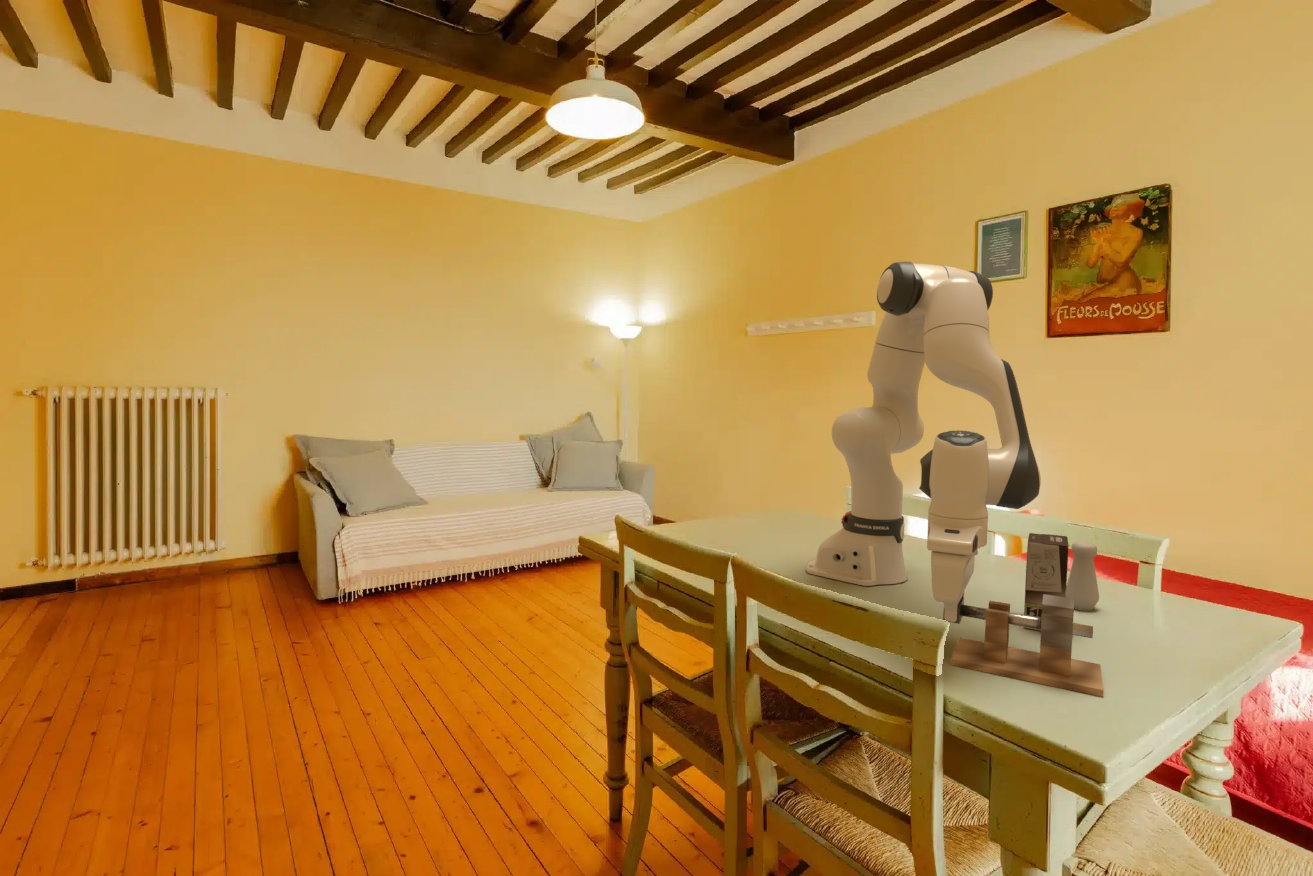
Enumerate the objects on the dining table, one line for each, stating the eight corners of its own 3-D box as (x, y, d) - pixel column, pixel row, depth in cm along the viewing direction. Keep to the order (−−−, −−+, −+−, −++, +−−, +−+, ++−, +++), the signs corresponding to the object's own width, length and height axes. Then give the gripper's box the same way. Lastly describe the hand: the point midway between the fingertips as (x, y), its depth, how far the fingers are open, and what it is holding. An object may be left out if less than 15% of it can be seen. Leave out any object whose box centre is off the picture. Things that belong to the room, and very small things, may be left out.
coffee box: (1064, 635, 115) (1069, 546, 113) (1022, 628, 118) (1026, 541, 117) (1064, 619, 123) (1068, 535, 121) (1024, 613, 126) (1029, 531, 125)
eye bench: (950, 664, 103) (953, 594, 102) (959, 643, 112) (961, 578, 111) (1103, 696, 93) (1107, 619, 92) (1100, 670, 101) (1104, 599, 100)
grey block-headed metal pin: (943, 621, 106) (943, 603, 105) (947, 611, 110) (948, 594, 110) (1092, 647, 95) (1093, 627, 95) (1091, 636, 99) (1092, 617, 99)
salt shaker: (1104, 613, 126) (1108, 547, 124) (1071, 611, 127) (1074, 546, 126) (1090, 603, 131) (1094, 540, 130) (1059, 601, 132) (1062, 538, 131)
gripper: (945, 517, 116) (943, 593, 117) (925, 541, 99) (922, 629, 100) (985, 521, 113) (981, 599, 114) (970, 547, 96) (967, 638, 97)
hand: (953, 614), depth 107 cm, fingers closed on grey block-headed metal pin, 5 cm apart
